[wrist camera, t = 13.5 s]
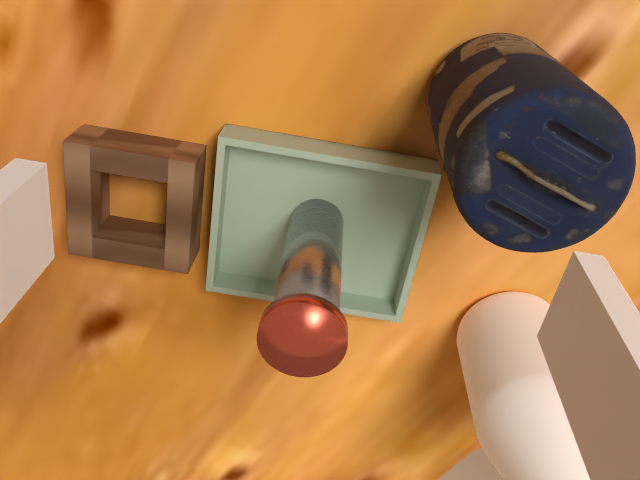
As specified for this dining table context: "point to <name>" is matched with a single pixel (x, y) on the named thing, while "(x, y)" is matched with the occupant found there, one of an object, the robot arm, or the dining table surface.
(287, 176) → the tray
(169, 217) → the socket block
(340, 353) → the pin
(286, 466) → the dining table surface
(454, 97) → the canister
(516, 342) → the wine bottle
